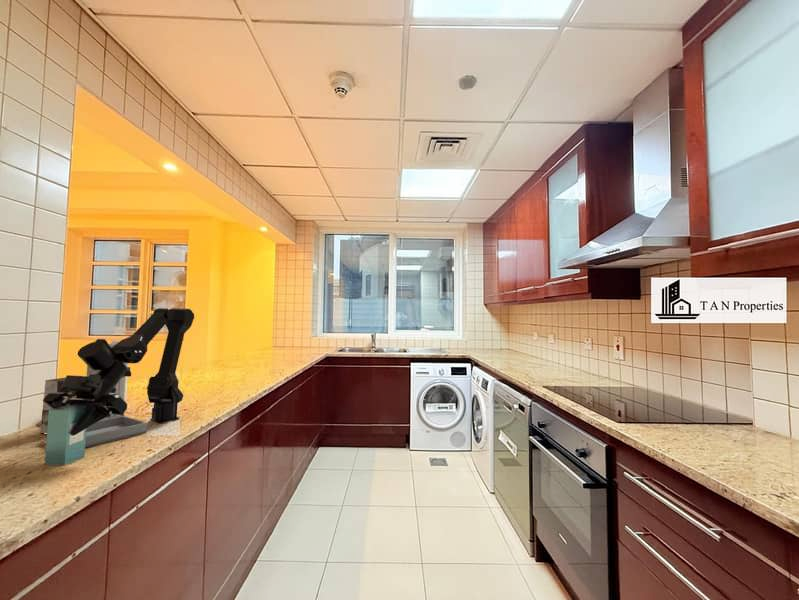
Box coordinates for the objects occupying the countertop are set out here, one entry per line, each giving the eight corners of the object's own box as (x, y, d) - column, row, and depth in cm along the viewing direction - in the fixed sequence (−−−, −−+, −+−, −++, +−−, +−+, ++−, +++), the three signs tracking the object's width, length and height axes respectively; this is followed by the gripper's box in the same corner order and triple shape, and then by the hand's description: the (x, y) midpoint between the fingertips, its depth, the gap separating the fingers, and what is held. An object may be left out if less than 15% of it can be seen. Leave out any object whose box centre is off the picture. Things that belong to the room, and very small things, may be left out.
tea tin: (65, 456, 88) (69, 404, 88) (84, 457, 88) (88, 405, 88) (44, 464, 83) (48, 409, 84) (64, 465, 83) (68, 410, 83)
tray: (123, 424, 113) (124, 415, 113) (146, 432, 107) (147, 422, 107) (49, 441, 97) (49, 430, 97) (70, 451, 91) (71, 440, 91)
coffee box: (55, 436, 101) (60, 381, 102) (39, 434, 102) (43, 379, 103) (89, 427, 110) (93, 376, 111) (73, 425, 111) (77, 375, 112)
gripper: (53, 361, 91) (-1, 415, 79) (121, 363, 90) (77, 418, 78) (79, 385, 98) (34, 438, 87) (143, 388, 97) (105, 441, 86)
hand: (61, 434), depth 84 cm, fingers closed on tea tin, 5 cm apart
